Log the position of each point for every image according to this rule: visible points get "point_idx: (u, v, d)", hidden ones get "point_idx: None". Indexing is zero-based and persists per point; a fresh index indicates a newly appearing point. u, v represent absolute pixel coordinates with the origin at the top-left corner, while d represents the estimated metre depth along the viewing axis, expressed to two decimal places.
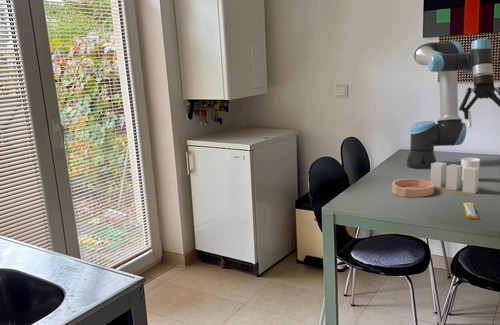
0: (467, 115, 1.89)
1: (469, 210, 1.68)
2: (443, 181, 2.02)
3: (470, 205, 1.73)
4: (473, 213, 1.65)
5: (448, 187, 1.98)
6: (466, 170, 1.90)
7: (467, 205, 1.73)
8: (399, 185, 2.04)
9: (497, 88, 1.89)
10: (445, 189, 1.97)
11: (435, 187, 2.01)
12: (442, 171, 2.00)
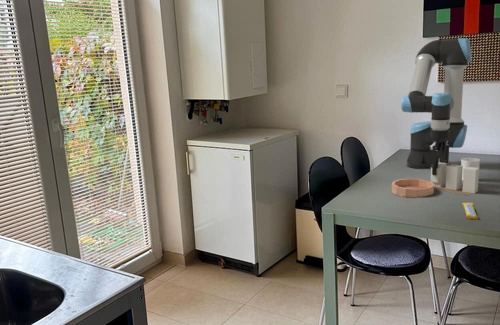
0: (436, 172, 2.00)
1: (469, 210, 1.68)
2: (443, 181, 2.02)
3: (469, 205, 1.73)
4: (473, 213, 1.65)
5: (448, 187, 1.98)
6: (466, 170, 1.90)
7: (467, 205, 1.73)
8: (399, 185, 2.04)
9: (446, 142, 2.02)
10: (445, 189, 1.97)
11: (435, 187, 2.01)
12: (442, 171, 2.00)
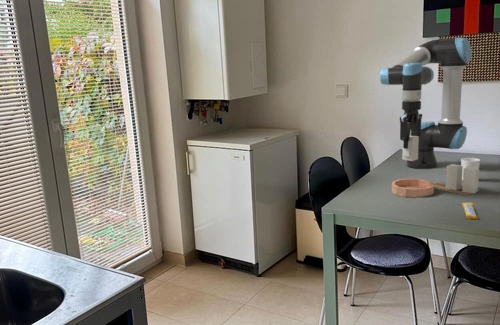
0: (407, 145, 1.93)
1: (468, 210, 1.68)
2: (415, 155, 1.95)
3: (469, 205, 1.73)
4: (473, 213, 1.65)
5: (448, 187, 1.98)
6: (466, 170, 1.90)
7: (466, 205, 1.73)
8: (399, 185, 2.04)
9: (418, 114, 1.96)
10: (445, 189, 1.97)
11: (435, 187, 2.01)
12: (414, 144, 1.93)
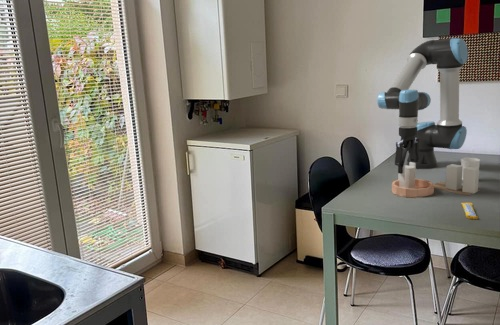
0: (402, 170, 1.94)
1: (468, 210, 1.68)
2: (412, 185, 1.98)
3: (469, 206, 1.73)
4: (473, 213, 1.65)
5: (448, 187, 1.98)
6: (466, 170, 1.90)
7: (466, 205, 1.73)
8: None
9: (415, 139, 1.98)
10: (445, 189, 1.97)
11: (435, 187, 2.01)
12: (411, 175, 1.96)
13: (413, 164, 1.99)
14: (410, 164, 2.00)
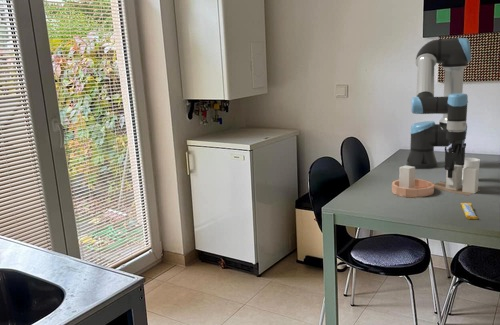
0: (451, 174, 1.94)
1: (468, 210, 1.68)
2: (412, 185, 1.98)
3: (468, 206, 1.73)
4: (472, 213, 1.65)
5: (448, 187, 1.98)
6: (466, 170, 1.90)
7: (465, 205, 1.73)
8: None
9: (462, 144, 1.97)
10: (445, 189, 1.97)
11: (435, 187, 2.01)
12: (410, 175, 1.96)
13: None
14: None
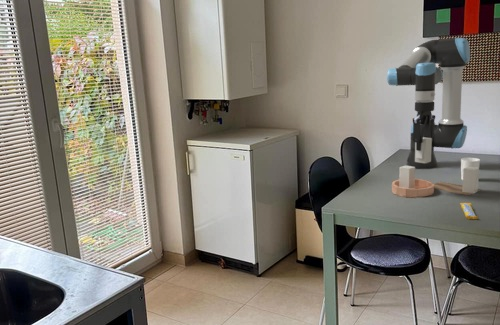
0: (420, 147, 1.88)
1: (468, 210, 1.68)
2: (412, 185, 1.98)
3: (467, 206, 1.72)
4: (472, 213, 1.65)
5: (417, 160, 1.92)
6: (466, 170, 1.90)
7: (465, 205, 1.73)
8: None
9: (431, 115, 1.91)
10: (445, 189, 1.97)
11: (435, 187, 2.01)
12: (410, 175, 1.96)
13: None
14: None
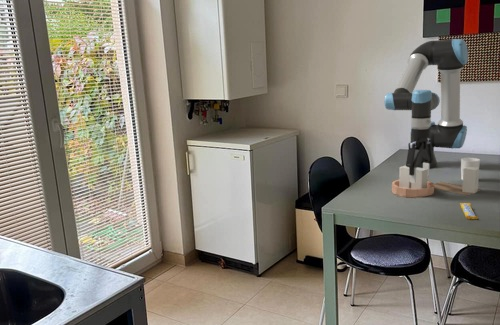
0: (413, 172, 1.89)
1: (467, 211, 1.68)
2: None
3: (467, 206, 1.72)
4: (472, 213, 1.65)
5: None
6: (466, 170, 1.90)
7: (464, 205, 1.73)
8: None
9: (428, 140, 1.93)
10: (445, 189, 1.97)
11: (435, 187, 2.01)
12: None
13: (427, 165, 1.95)
14: (424, 165, 1.96)
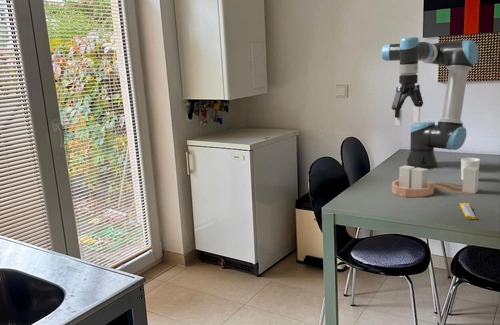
0: (398, 114, 1.96)
1: (467, 211, 1.67)
2: None
3: (467, 206, 1.72)
4: (471, 213, 1.65)
5: None
6: (466, 170, 1.90)
7: (464, 206, 1.73)
8: None
9: (415, 86, 2.01)
10: (445, 189, 1.97)
11: (435, 187, 2.01)
12: (410, 175, 1.96)
13: (417, 108, 2.04)
14: (414, 108, 2.05)
